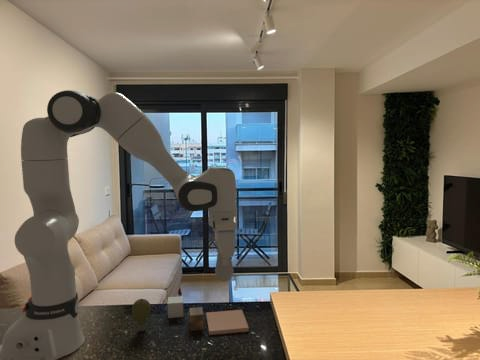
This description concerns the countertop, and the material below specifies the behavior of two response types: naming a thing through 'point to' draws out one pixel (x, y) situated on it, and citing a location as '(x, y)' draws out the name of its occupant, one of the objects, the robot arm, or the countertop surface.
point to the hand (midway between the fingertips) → (224, 262)
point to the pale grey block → (175, 307)
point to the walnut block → (196, 319)
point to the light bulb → (141, 313)
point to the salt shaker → (223, 268)
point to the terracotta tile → (226, 322)
